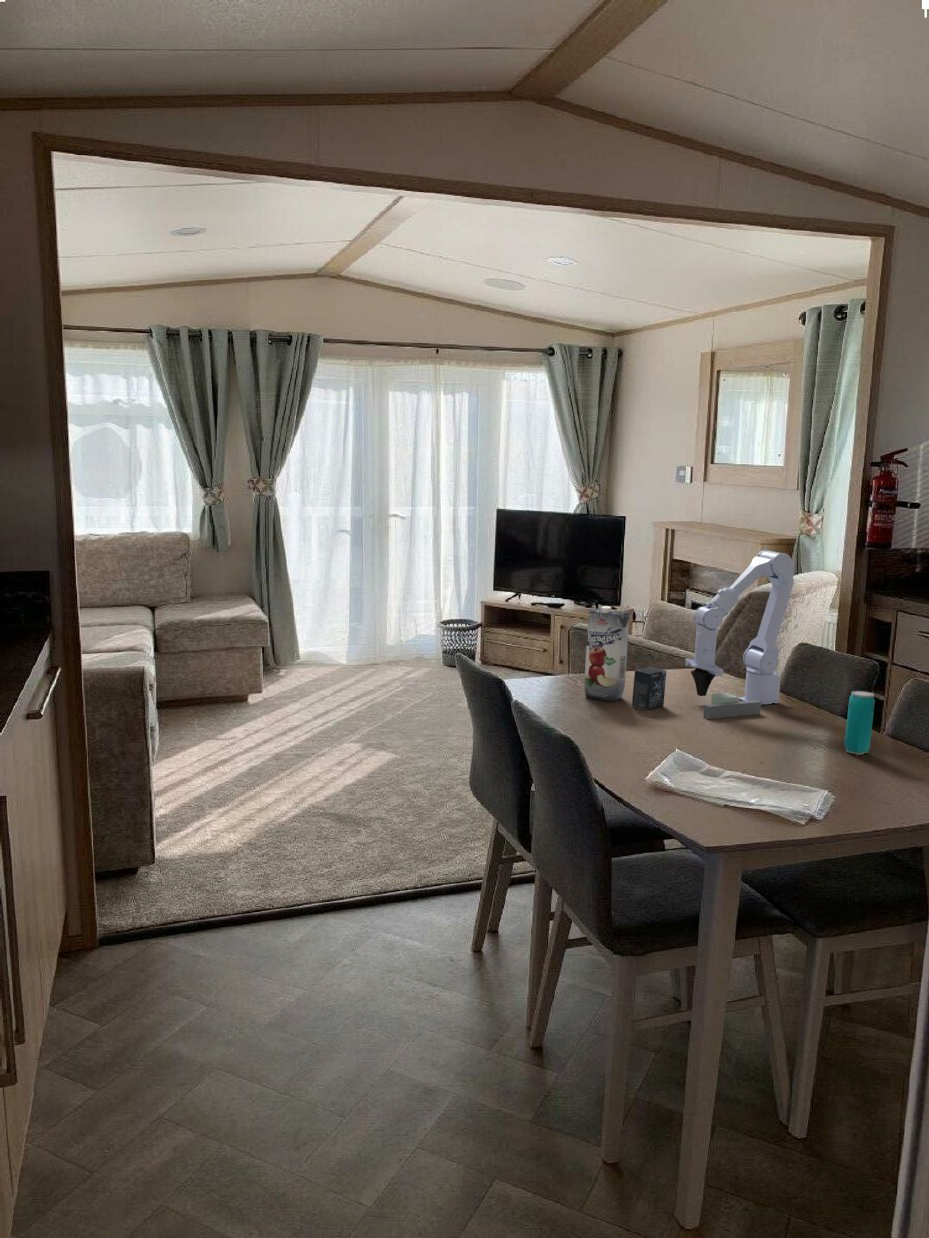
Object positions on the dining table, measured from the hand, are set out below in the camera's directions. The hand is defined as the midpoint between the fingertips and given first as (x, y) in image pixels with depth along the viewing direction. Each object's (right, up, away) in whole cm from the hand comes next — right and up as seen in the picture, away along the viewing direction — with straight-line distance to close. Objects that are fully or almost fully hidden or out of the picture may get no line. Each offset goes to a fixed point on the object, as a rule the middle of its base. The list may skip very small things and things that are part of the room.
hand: (701, 695), depth 284 cm
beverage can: (+28, -11, -42) cm, 52 cm away
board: (+6, -5, -12) cm, 14 cm away
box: (-16, -3, -5) cm, 17 cm away
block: (+4, -4, -8) cm, 10 cm away
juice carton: (-28, -1, +3) cm, 28 cm away
